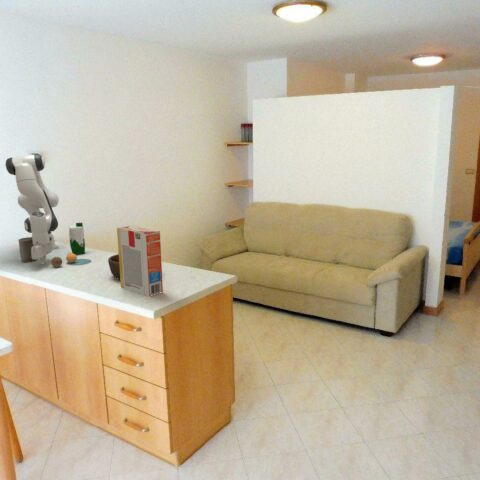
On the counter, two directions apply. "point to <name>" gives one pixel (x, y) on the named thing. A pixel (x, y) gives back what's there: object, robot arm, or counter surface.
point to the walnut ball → (56, 261)
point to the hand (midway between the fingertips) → (43, 263)
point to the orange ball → (71, 258)
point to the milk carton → (77, 239)
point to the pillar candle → (26, 249)
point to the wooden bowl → (114, 265)
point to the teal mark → (80, 262)
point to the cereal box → (140, 260)
